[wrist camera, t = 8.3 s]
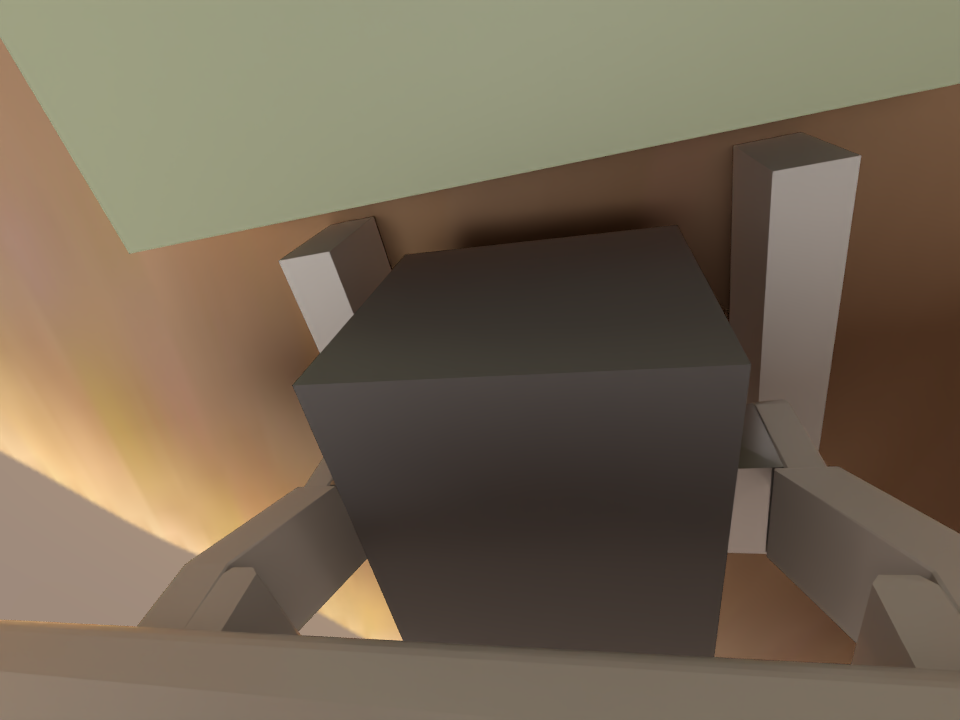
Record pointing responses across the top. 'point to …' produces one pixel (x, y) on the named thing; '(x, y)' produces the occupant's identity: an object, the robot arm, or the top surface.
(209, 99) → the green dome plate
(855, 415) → the top surface
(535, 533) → the dark grey box
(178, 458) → the top surface
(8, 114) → the top surface
